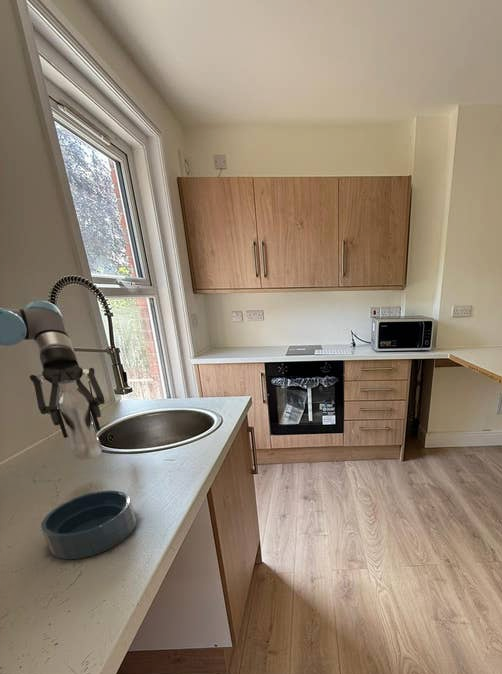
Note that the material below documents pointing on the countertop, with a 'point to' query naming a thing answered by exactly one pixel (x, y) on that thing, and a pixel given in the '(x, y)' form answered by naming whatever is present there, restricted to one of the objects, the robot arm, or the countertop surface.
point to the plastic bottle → (78, 421)
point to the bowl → (89, 524)
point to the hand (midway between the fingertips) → (82, 431)
